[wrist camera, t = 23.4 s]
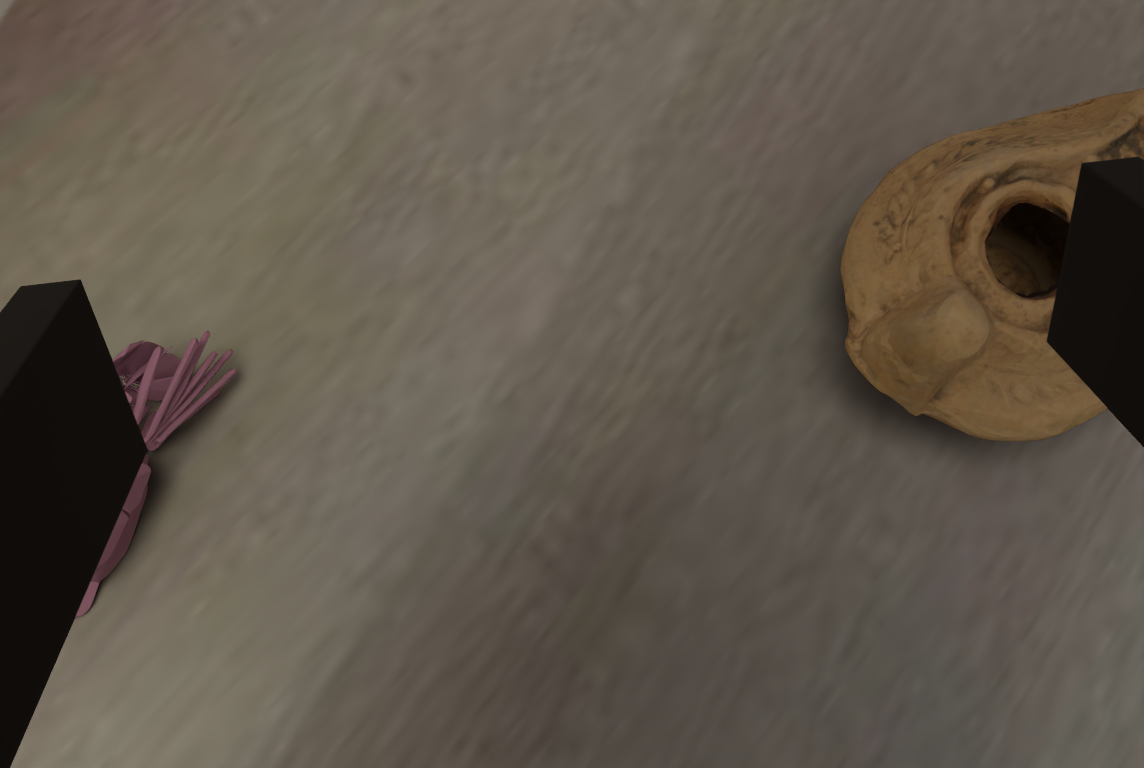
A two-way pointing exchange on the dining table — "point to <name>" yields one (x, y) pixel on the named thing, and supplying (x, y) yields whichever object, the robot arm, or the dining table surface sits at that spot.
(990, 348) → the oil lamp
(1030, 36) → the dining table surface
